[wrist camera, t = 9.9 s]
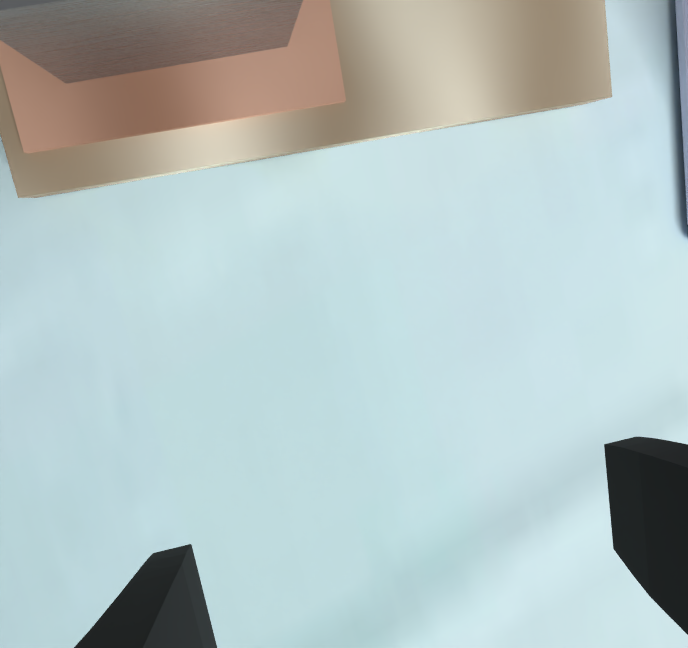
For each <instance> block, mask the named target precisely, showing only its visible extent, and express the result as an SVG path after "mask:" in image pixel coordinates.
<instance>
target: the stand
mask: <svg viewBox="0 0 688 648" xmlns="http://www.w3.org/2000/svg"><path fill="white" fill-rule="evenodd" d="M610 97H612V89H611V76H610V63H609V50H608V37H607V24H606V11H605V0H303V2H302V5H301V8H300V11H299V14H298V17H297V20H296V23H295V26H294V28H293V31H292V34H291V37H290V40H289V43H288V46H287V47H282V48H276V49H270V50H264V51H258V52H252V53H246V54H240V55H234V56H228V57H223V58H217V59H211V60H205V61H199V62H193V63H187V64H181V65H175V66H169V67H163V68H157V69H151V70H145V71H139V72H133V73H127V74H121V75H115V76H109V77H103V78H97V79H92V80H86V81H80V82H74V83H68V84H66V83H64V82H63V81H61V80H60V79H58V78H57V77H55V76H54V75H52V74H51V73H49V72H48V71H46V70H45V69H43V68H42V67H40V66H39V65H37V64H36V63H34V62H33V61H31V60H30V59H28V58H27V57H25V56H24V55H22V54H21V53H19V52H18V51H16V50H15V49H13V48H12V47H10V46H8V45H7V44H5V43H4V42H2V41H1V40H0V134H1V138H2V142H3V145H4V149H5V152H6V156H7V160H8V163H9V167H10V170H11V174H12V178H13V181H14V185H15V188H16V192H17V195H18V198H38V197H43V196H49V195H55V194H61V193H67V192H73V191H79V190H85V189H90V188H96V187H102V186H108V185H114V184H120V183H126V182H131V181H137V180H143V179H149V178H155V177H161V176H167V175H172V174H178V173H184V172H190V171H196V170H202V169H208V168H214V167H219V166H225V165H231V164H237V163H243V162H249V161H255V160H260V159H266V158H272V157H278V156H284V155H290V154H296V153H302V152H307V151H313V150H319V149H325V148H331V147H337V146H343V145H348V144H354V143H360V142H366V141H372V140H378V139H384V138H389V137H395V136H401V135H407V134H413V133H419V132H425V131H431V130H436V129H442V128H448V127H454V126H460V125H466V124H472V123H477V122H483V121H489V120H495V119H501V118H507V117H513V116H518V115H524V114H530V113H536V112H542V111H548V110H554V109H560V108H565V107H571V106H577V105H583V104H587V103H591V102H595V101H598V100H602V99H606V98H610Z"/></svg>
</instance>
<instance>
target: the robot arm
mask: <svg viewBox="0 0 688 648" xmlns="http://www.w3.org/2000/svg"><path fill="white" fill-rule="evenodd" d="M675 4H676V22H677V40H678V58H679V77H680V95H681V113H682V132H683V150H684V168H685V186H686V205H687V223H688V0H675ZM604 447H605V458H606V469H607V480H608V492H609V503H610V514H611V525H612V536H613V547H614V550H615V551H616V553H617V554H618V555H619V557H620V558H621V559H622V561H623V562H624V564H625V565H626V566H627V568H628V569H629V570H630V572H631V573H632V574H633V576H634V577H635V578H636V579H637V581H638V582H639V583H640V584H641V586H642V587H643V588H644V589H645V591H646V592H647V593H648V595H649V596H650V597H651V598H652V599H653V600H654V601H655V602H656V603H657V604H658V605H659V606H660V607H661V608H662V609H663V610H664V611H665V612H666V613H667V614H668V615H669V616H670V617H671V618H672V619H673V620H674V621H675V622H676V623H677V624H678V625H679V626H680V627H681V628H682V629H683V630H684V631H685V632H686V633H687V634H688V445H687V444H682V443H677V442H672V441H667V440H661V439H654V438H646V437H633V438H629V439H625V440H621V441H616V442H612V443H608V444H604ZM74 648H217V645H216V641H215V637H214V633H213V629H212V625H211V621H210V617H209V613H208V609H207V605H206V601H205V597H204V593H203V589H202V585H201V581H200V577H199V573H198V569H197V565H196V561H195V557H194V553H193V549H192V545H191V544H189V545H185V546H181V547H177V548H173V549H169V550H164V551H160V552H156V553H153V554H152V555H151V556H150V557H149V558H148V559H147V561H146V562H145V563H144V564H143V565H142V567H141V568H140V569H139V570H138V572H137V573H136V574H135V575H134V577H133V578H132V579H131V580H130V582H129V583H128V584H127V585H126V587H125V588H124V589H123V591H122V592H121V593H120V594H119V596H118V597H117V598H116V599H115V600H114V602H113V603H112V604H111V605H110V606H109V608H108V609H107V610H106V611H105V613H104V614H103V615H102V616H101V617H100V619H99V620H98V621H97V622H96V623H95V625H94V626H93V627H92V628H91V629H90V631H89V632H88V633H87V634H86V635H85V636H84V637H83V638H82V640H81V641H80V642H79V643H78V644H77V645H76V646H75V647H74Z"/></svg>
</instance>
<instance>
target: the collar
mask: <svg viewBox="0 0 688 648" xmlns="http://www.w3.org/2000/svg"><path fill="white" fill-rule="evenodd" d="M302 2H303V0H0V40H1V41H2V42H4V43H5V44H7V45H8V46H10V47H12V48H13V49H15V50H16V51H18V52H19V53H21V54H22V55H24V56H25V57H27V58H28V59H30V60H31V61H33V62H34V63H36V64H37V65H39V66H40V67H42V68H43V69H45V70H46V71H48V72H49V73H51V74H52V75H54V76H55V77H57V78H58V79H60V80H61V81H63V82H64V83H66V84H68V83H74V82H80V81H86V80H92V79H97V78H103V77H109V76H115V75H121V74H127V73H133V72H139V71H145V70H151V69H157V68H163V67H169V66H175V65H181V64H187V63H193V62H199V61H205V60H211V59H217V58H223V57H228V56H234V55H240V54H246V53H252V52H258V51H264V50H270V49H276V48H282V47H287V46H288V43H289V40H290V37H291V34H292V31H293V28H294V26H295V23H296V20H297V17H298V14H299V11H300V8H301V5H302Z"/></svg>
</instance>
